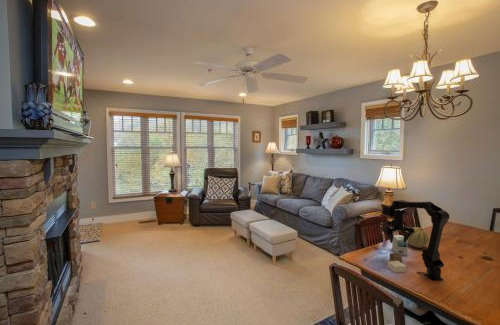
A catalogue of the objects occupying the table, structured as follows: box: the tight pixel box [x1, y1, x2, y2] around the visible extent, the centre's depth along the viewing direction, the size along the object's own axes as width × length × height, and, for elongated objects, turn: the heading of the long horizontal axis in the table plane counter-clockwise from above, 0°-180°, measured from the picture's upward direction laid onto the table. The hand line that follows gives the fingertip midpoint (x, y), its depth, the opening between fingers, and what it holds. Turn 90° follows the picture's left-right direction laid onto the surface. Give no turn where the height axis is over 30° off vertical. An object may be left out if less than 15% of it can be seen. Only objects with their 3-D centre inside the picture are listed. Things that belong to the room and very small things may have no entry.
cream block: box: [386, 260, 407, 274], centre depth 155 cm, size 7×7×4 cm
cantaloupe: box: [407, 226, 430, 249], centre depth 188 cm, size 15×15×15 cm
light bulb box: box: [391, 234, 409, 256], centre depth 180 cm, size 11×7×11 cm, turn 168°
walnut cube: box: [389, 252, 403, 264], centre depth 165 cm, size 5×5×5 cm
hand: (397, 242), depth 166 cm, fingers open, 9 cm apart
